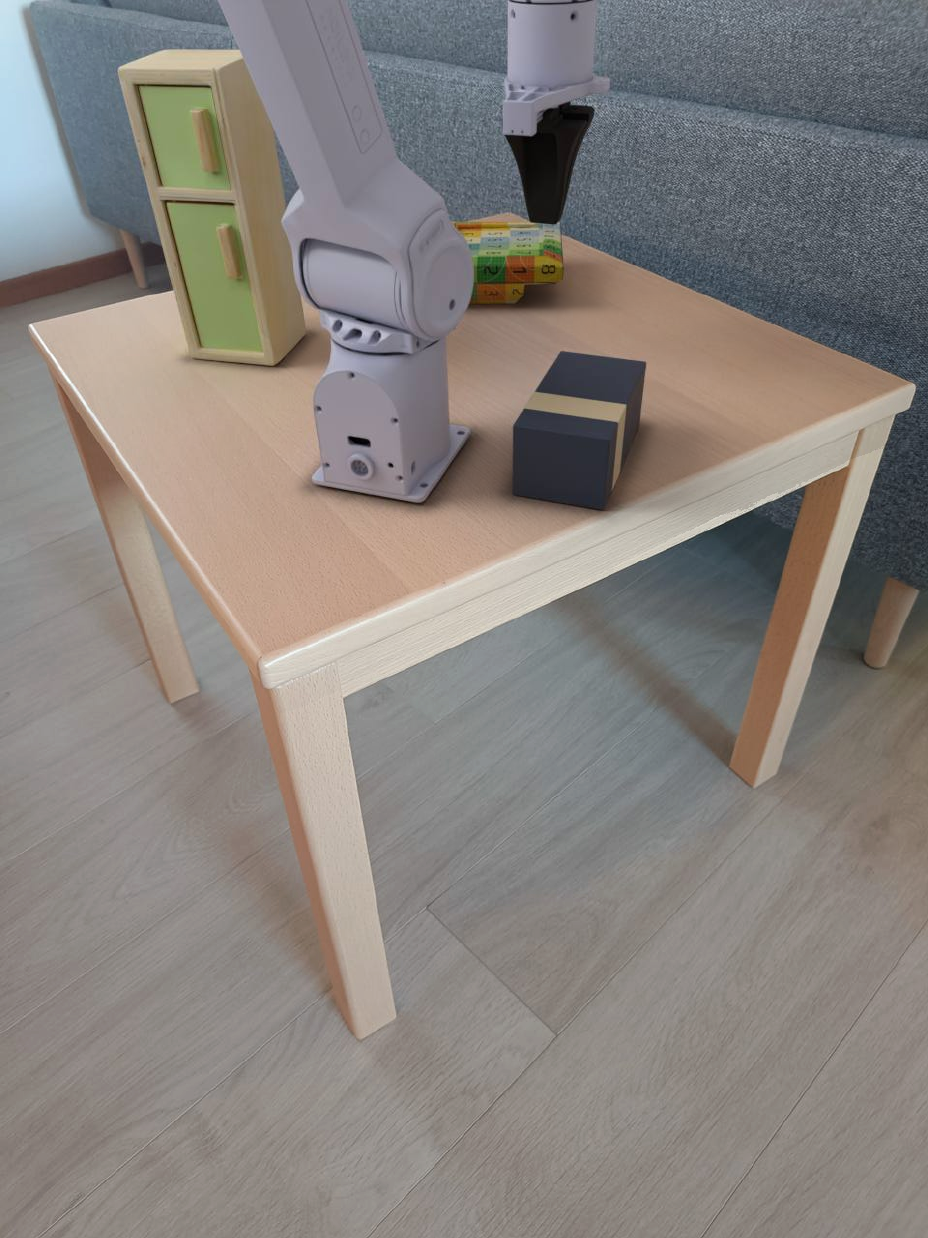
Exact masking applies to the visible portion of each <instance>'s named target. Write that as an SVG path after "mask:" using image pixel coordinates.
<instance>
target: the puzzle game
mask: <svg viewBox="0 0 928 1238" xmlns="http://www.w3.org/2000/svg"><path fill="white" fill-rule="evenodd" d="M451 222H452V224H453V225H454V227H455V228H456V229H457V230H458V231H459V232H460V233H461V234H462V235H463V236H464V238H465V239H466V241H467V243H468V245H469V248H470V252H471V255H472V260H473V267H474V283H473V290H472V295H471V299H470V302H469V304H516V303H517V302H518V301H520V299H521V298H522V297H523V296H524V294H525V293H524V292H525V286H526V285H527V286H528V285H553V284H554V285H555V284H557V283H559V282H561V281H562V280H564V253H563V239H562V238H563V237H562V224H561V222H560V221H559V222H558V223H557V224H555V225H553V224H541V223H531V222H530V221H451Z"/></svg>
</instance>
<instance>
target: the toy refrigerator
mask: <svg viewBox="0 0 928 1238" xmlns="http://www.w3.org/2000/svg"><path fill="white" fill-rule="evenodd" d="M117 75H118V80H119V84H120V88H121V92H122V96H123V100H124V103H125V107H126V111H127V115H128V118H129V123H130V127H131V131H132V134H133V138H134V143H135V146H136V150H137V153H138V157H139V160H140V165H141V169H142V172H143V176H144V180H145V184H146V188H147V192H148V196H149V200H150V203H151V208H152V211H153V216H154V219H155V223H156V227H157V231H158V235H159V240H160V243H161V246H162V250H163V254H164V258H165V263H166V266H167V270H168V274H169V278H170V281H171V286H172V289H173V294H174V298H175V301H176V306H177V309H178V313H179V317H180V321H181V325H182V329H183V333H184V337H185V340H186V345H187V348H188V352H189V355H190V357H191V358H192V359H195V360H196V359H198V360H204V361H205V360H206V361H207V360H208V361H217V362H227V363H229V362H230V363H240V364H251V365H261V366H271V367H274V366H276V365H278V363H280V362H281V361H282V360H283V359H284V358H285V357H286V356H287V355H288V353H290V352H291V351H292V350H293V348H294V347H295V346H296V345H298V343H299V342H300V341H301V340H302V339H303V337H304V336H305V335H306V334H307V326H306V320H305V314H304V308H303V307H304V306H303V302H302V301H303V300H302V296H301V294H300V292H299V290H298V287H297V284H296V281H295V276H294V270H293V258H292V250H291V246H290V242H289V240H288V237H287V234H286V232H285V230H284V228H283V226H282V223H281V221H282V218H283V215H284V213H285V211H286V209H287V202H286V197H285V191H284V184H283V179H282V173H281V167H280V166H281V165H280V161H279V154H278V148H277V142H276V141H277V140H276V134H275V130H274V128H273V126H272V123H271V121H270V119H269V117H268V114H267V112H266V110H265V107H264V105H263V103H262V100H261V98H260V96H259V94H258V91H257V89H256V87H255V84H254V82H253V80H252V78H251V75H250V73H249V71H248V68H247V66H246V64H245V61H244V59H243V57H242V55H241V52H240V50H239V49H184V48H183V49H182V48H180V49H179V48H178V49H176V48H174V49H163V50H159V51H155V52H154V53H150V54H149V55H146V56H144V57H141V58H138V59H135V60H133V61H129V62H127V63H125V64H123V65H121V66H118V68H117Z"/></svg>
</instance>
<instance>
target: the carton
mask: <svg viewBox="0 0 928 1238" xmlns="http://www.w3.org/2000/svg"><path fill="white" fill-rule="evenodd" d="M646 369H647V362H646V361H644V360H636V359H627V358H622V357H621V358H620V357H613V356H605V355H598V354H597V355H596V354H588V353H581V352H572V351H565V350H560V352H559V353H558V354H557V356H556V357H555V359H554V360H553V363H551V366H549V369H548V370H547V372H546V374H545V375H544V376H543V378H542V380H541V381H540V383H539V384H538V386H537V387H536V389H535V391H533V393H532V395H531V396H530V398H529V399H528V400H527V402H526V403H525V405H524V407H523V409H522V411H521V412H520V414H519V416H518V417H517V419H516V421H515V422H514V423H513V425H512V485H511V486H512V489H511V490H512V491H511V492H512V495H514V496H520V497H526V498H530V499H536V500H543V501H548V502H555V503H560V504H561V503H562V504H566V505H571V506H576V507H577V506H578V507H583V508H589V509H593V510H594V509H595V510H600V511H603V510H605V507H606V505H607V503H608V501H609V499H610V496H611V494H612V492H613V490H614V488H615V485H616V483H617V480H618V479H619V476H620V472H621V470H622V469H623V466H624V463H625V461H626V458H627V456H628V454H629V452H630V449H631V446H632V445H633V442H634V440H635V437H636V435H637V433H638V431H639V428H640V421H641V413H642V404H643V396H644V387H645V378H646V371H647V370H646Z"/></svg>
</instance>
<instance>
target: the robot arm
mask: <svg viewBox="0 0 928 1238" xmlns="http://www.w3.org/2000/svg"><path fill="white" fill-rule="evenodd" d="M217 2H218V4H219V6H220V9H221V11H222V13H223V16H224V17H225V19H226V23H227V24H228V28H229V29H230V31H231V32H230V33H231V34H232V36H233V39H234V41H235V43H236V45H237V48H238V50H240V52H241V55H242V57H243V59H244V61H245V64H246V66H247V68H248V71H249V73H250V75H251V78H252V80H253V82H254V84H255V87H256V89H257V91H258V94H259V96H260V98H261V100H262V103H263V105H264V107H265V110H266V112H267V114H268V117H269V119H270V121H271V123H272V126H273V128H274V134H275V136H276V137H277V139H278V142H279V144H280V146H281V149H282V151H283V153H284V156H285V158H286V160H287V163H288V164H289V167H290V169H291V172H292V173H293V176H294V179H295V182H296V183H297V186H298V187H299V188H298V189H297V190H296V192H295V193H294V195H293V196H292V197H291V199H290V200H289V203H288V205H287V206H286V211H285V213H284V215H283V218H282V221H281V223H282V226H283V228H284V230H285V232H286V234H287V237H288V240H289V242H290V246H291V250H292V258H293V270H294V276H295V281H296V284H297V287H298V290H299V292H300V295H301V298H302V299H303V300H304V301H305V303H306V304H307V305H309V306H310V307H312V308H313V309H315V310H317V311H318V315H319V322H320V328H321V329H323V330H326V331H327V332H329V334H330V355H329V360H328V364H327V366H326V369H325V370H324V373H323V374H322V376H321V377H320V379H319V380H318V382H317V383H316V386H315V388H314V390H313V395H312V409H313V416H314V422H315V430H316V435H317V443H318V449H319V456H320V464H321V465H320V466H319V468H317V470H316V471H315V472H314V473H313V474H312V476H311V480H312V483H313V484H314V485H317V486H323V487H330V488H335V489H340V490H345V491H351V492H356V493H363V494H367V495H372V496H378V497H384V498H389V499H393V500H394V499H395V500H400V501H406V502H411V503H417V504H419V503H423V502H425V501H426V500H427V498H428V497H429V496H430V494H431V492H432V491H433V489H435V487H436V485H437V484H438V482H439V481H440V479H441V478H442V477H443V475H444V474H445V472H446V471H447V469H448V468H449V467H450V465H451V464H452V462H453V461H454V459H456V456H457V455H458V453H459V452H460V451H461V449H462V448H463V447H464V445H465V443H466V442H467V440H469V438H470V437H471V428H470V427H468V426H465V425H458V424H453V423H450V401H449V378H448V377H449V376H448V375H449V374H448V353H447V352H448V351H447V336H448V335H450V334H451V333H452V332H453V331H454V330H455V329H456V327H457V325H458V324H459V323H460V322H461V320H463V318H464V315H465V314H466V311H467V310H468V307H469V302H470V299H471V295H472V290H473V283H474V267H473V260H472V255H471V252H470V248H469V245H468V243H467V241H466V239H465V238H464V236H463V235H462V234H461V233H460V232H459V231H458V230H457V229H456V228H455V227H454V225H453V224H452V222H453V221H452V220H451V218H450V216H449V212H448V209H447V206H446V202H445V199H444V198H443V197H442V196H441V194H439V192H437V191H436V190H435V189H433V187H432V186H430V185H429V184H428V183H427V182H426V181H425V180H424V179H422V178H421V177H420V176H418V175H417V174H416V173H415V172H414V171H412V169H410V168H409V167H408V166H407V165H406V164H405V163H404V162H403V161H401V159H400V158H399V157H398V154H397V151H396V148H395V145H394V142H393V139H392V136H391V133H390V130H389V127H388V123H387V120H386V118H385V113H384V111H383V108H382V104H381V102H380V99H379V96H378V93H377V89H376V87H375V83H374V80H373V77H372V74H371V71H370V68H369V65H368V61H367V59H366V56H365V52H364V49H363V46H362V42H361V40H360V37H359V33H358V31H357V27H356V24H355V22H354V21H355V20H354V18H353V16H352V15H353V14H352V12H351V9H350V6H349V3H348V0H217ZM597 9H598V0H507V75H506V76H505V77H504V83H503V87H504V88H503V89H504V90H503V91H504V94H505V96H504V97H505V99H503V100H502V116H501V129H502V135H503V136H504V137H505V139H506V141H507V143H508V145H509V148H510V149H511V151H512V154H513V157H514V159H515V163H516V165H517V170H518V173H519V178H520V181H521V187H522V192H523V198H524V202H525V208H526V212H527V217H528V220H529V222H531V223H541V224H553V225H555V224H557V223H558V222H560V221H561V219H562V216H563V213H564V210H565V206H566V202H567V198H568V193H569V189H570V186H571V185H570V184H571V181H572V176H573V171H574V167H575V165H576V160H577V157H578V154H579V151H580V148H581V145H582V144H583V143H582V142H584V138H585V136H586V134H587V132H588V130H589V128H590V126H591V124H592V122H593V120H594V119H595V118H594V117H595V107H593V106H590V105H583V104H571V103H572V102H573V101H575V100H578V99H582V98H585V97H588V96H590V95H604V94H606V93H607V92H608V91H609V90H610V89H611V88H610V86H611V78H610V77H608V76H597V75H595V74H594V58H595V42H596V41H595V40H596V26H597V25H596V23H597Z"/></svg>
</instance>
